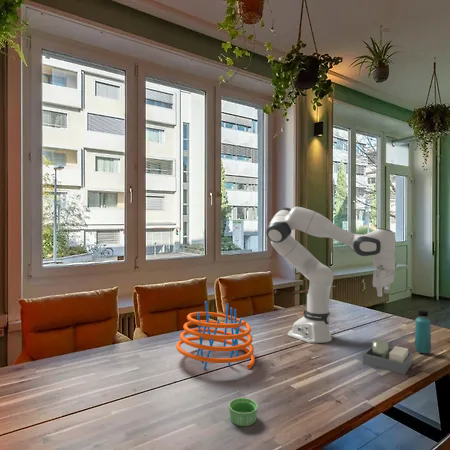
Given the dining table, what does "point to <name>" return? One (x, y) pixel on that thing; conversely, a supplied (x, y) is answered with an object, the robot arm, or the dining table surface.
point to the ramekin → (243, 411)
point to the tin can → (380, 348)
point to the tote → (387, 362)
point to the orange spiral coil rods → (217, 337)
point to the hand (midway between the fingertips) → (383, 294)
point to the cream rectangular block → (398, 354)
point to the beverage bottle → (422, 333)
